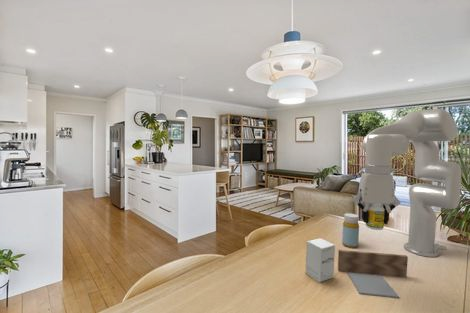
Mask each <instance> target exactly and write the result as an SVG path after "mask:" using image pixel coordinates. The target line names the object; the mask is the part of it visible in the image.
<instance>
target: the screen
mask: <svg viewBox="0 0 470 313" xmlns="http://www.w3.org/2000/svg"><path fill="white" fill-rule="evenodd" d="M337 251H338V252H337V253H338V254H337V255H338V256H337V271H338V272H343V273H357V274H367V275H378V276H383V277H384V276H386V277H397V278H407V276H408V275H407V274H408V273H407V272H408V260H409V259H408V258H409V257H408V255H405V254H394V253H382V252H370V251H360V250H359V251H357V250H346V249H338V250H337Z"/></svg>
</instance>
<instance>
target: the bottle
mask: <svg viewBox="0 0 470 313" xmlns="http://www.w3.org/2000/svg"><path fill="white" fill-rule="evenodd" d="M343 215H344V218H343V223H342V238H341V239H342V240H341V241H342V245H343V246H345V247H347V248H350V249H356V248H357V247H359V235H360V234H359V233H360V225H359V215H358V214H355V213H350V212H349V213H348V212H346V213H344V214H343Z"/></svg>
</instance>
